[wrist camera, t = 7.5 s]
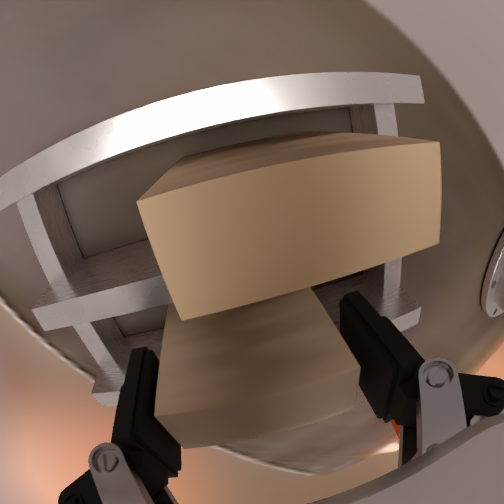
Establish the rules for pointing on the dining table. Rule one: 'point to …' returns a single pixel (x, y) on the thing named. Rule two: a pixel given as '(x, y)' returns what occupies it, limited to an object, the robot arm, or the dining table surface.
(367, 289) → the rack
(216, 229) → the oak board
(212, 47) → the dining table surface
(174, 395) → the beech board
